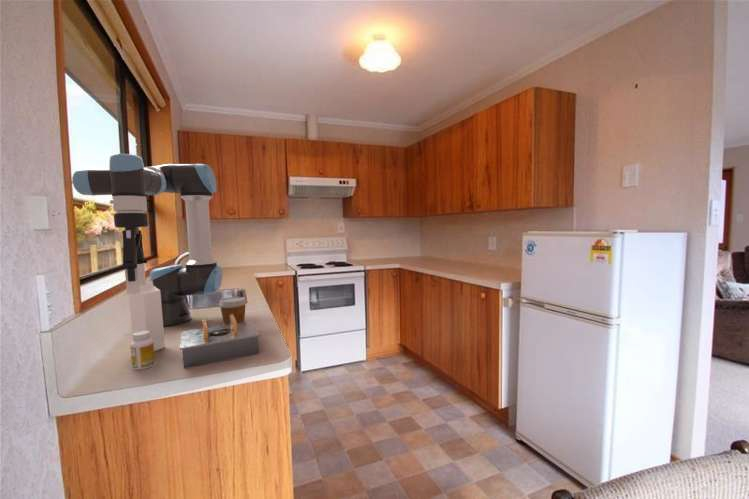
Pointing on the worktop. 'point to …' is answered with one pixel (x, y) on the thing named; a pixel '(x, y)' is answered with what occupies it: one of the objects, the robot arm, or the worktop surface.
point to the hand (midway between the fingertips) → (137, 289)
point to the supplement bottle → (142, 351)
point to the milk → (148, 313)
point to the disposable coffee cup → (233, 309)
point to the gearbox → (219, 342)
